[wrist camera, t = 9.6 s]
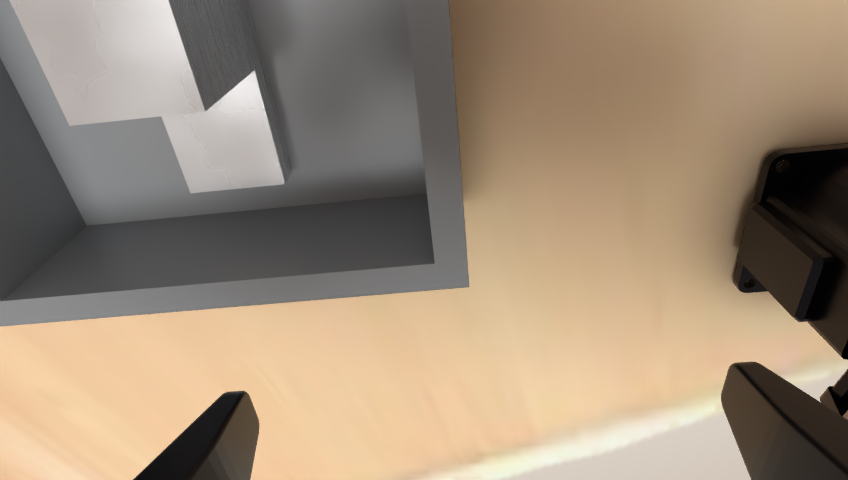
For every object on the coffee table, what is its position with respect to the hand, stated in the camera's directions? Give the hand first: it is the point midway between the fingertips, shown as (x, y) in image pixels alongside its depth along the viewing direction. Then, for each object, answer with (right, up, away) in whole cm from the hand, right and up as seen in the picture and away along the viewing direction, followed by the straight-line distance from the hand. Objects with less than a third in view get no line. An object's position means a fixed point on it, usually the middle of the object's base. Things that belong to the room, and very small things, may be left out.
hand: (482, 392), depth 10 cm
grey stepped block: (-8, +9, +8) cm, 14 cm away
